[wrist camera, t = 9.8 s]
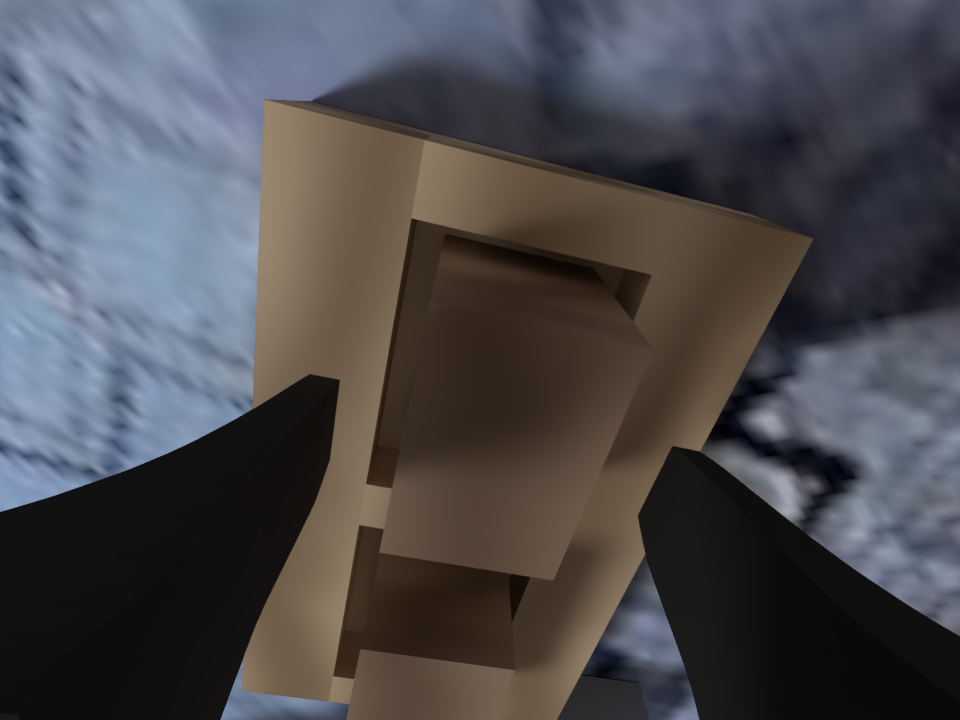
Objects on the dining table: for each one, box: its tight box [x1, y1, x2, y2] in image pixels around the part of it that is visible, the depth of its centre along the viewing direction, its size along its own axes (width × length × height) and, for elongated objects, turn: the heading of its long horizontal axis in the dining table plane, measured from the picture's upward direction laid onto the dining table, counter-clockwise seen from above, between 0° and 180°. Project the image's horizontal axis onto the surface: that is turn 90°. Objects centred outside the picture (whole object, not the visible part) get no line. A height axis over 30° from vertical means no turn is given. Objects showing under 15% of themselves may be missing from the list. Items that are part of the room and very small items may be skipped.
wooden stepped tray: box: [242, 99, 813, 720], centre depth 16 cm, size 12×20×3 cm, turn 167°
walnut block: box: [379, 234, 653, 580], centre depth 12 cm, size 4×6×5 cm, turn 167°
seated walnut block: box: [346, 553, 515, 720], centre depth 16 cm, size 4×6×5 cm, turn 167°
